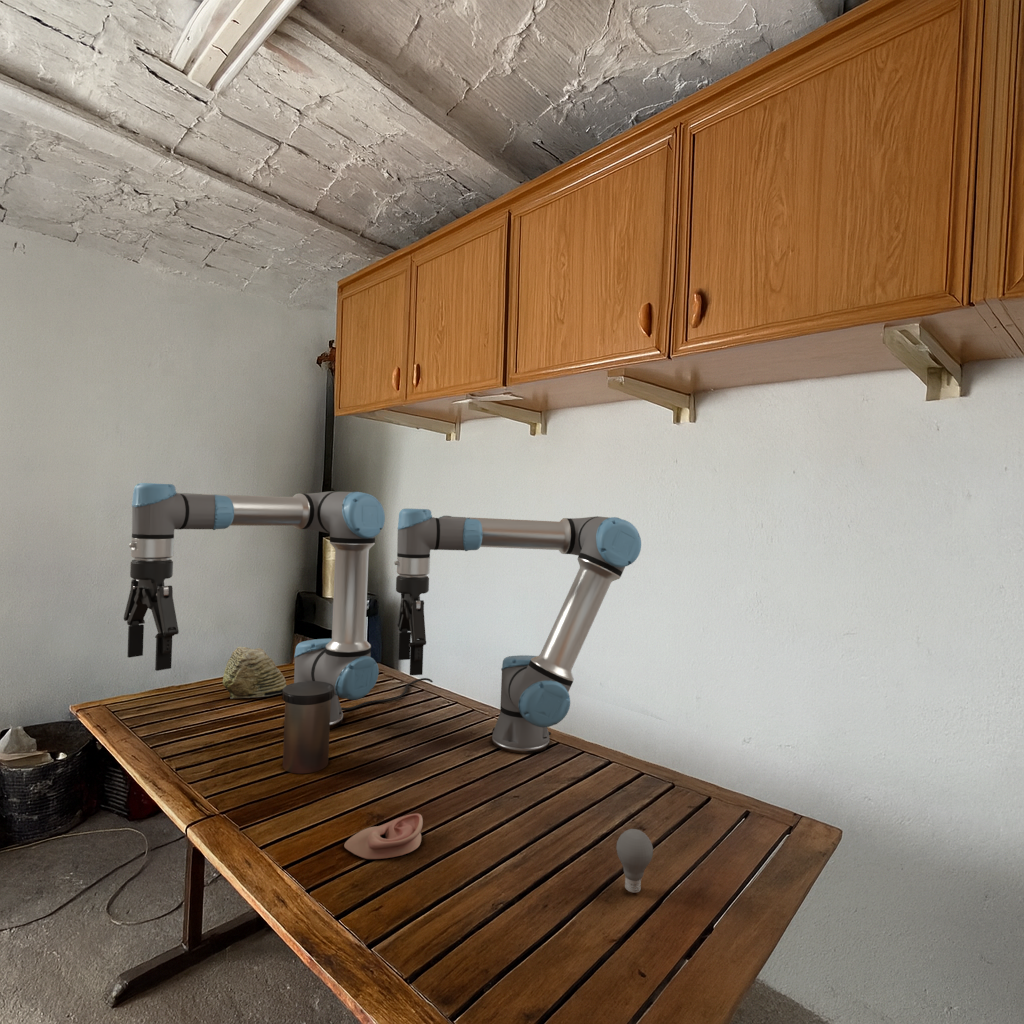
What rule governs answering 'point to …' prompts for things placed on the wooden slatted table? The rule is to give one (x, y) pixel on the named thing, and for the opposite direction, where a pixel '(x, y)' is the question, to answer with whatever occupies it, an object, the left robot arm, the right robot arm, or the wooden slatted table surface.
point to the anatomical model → (387, 838)
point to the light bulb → (634, 857)
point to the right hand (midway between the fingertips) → (409, 666)
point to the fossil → (252, 674)
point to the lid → (308, 692)
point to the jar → (306, 737)
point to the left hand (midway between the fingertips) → (148, 662)
